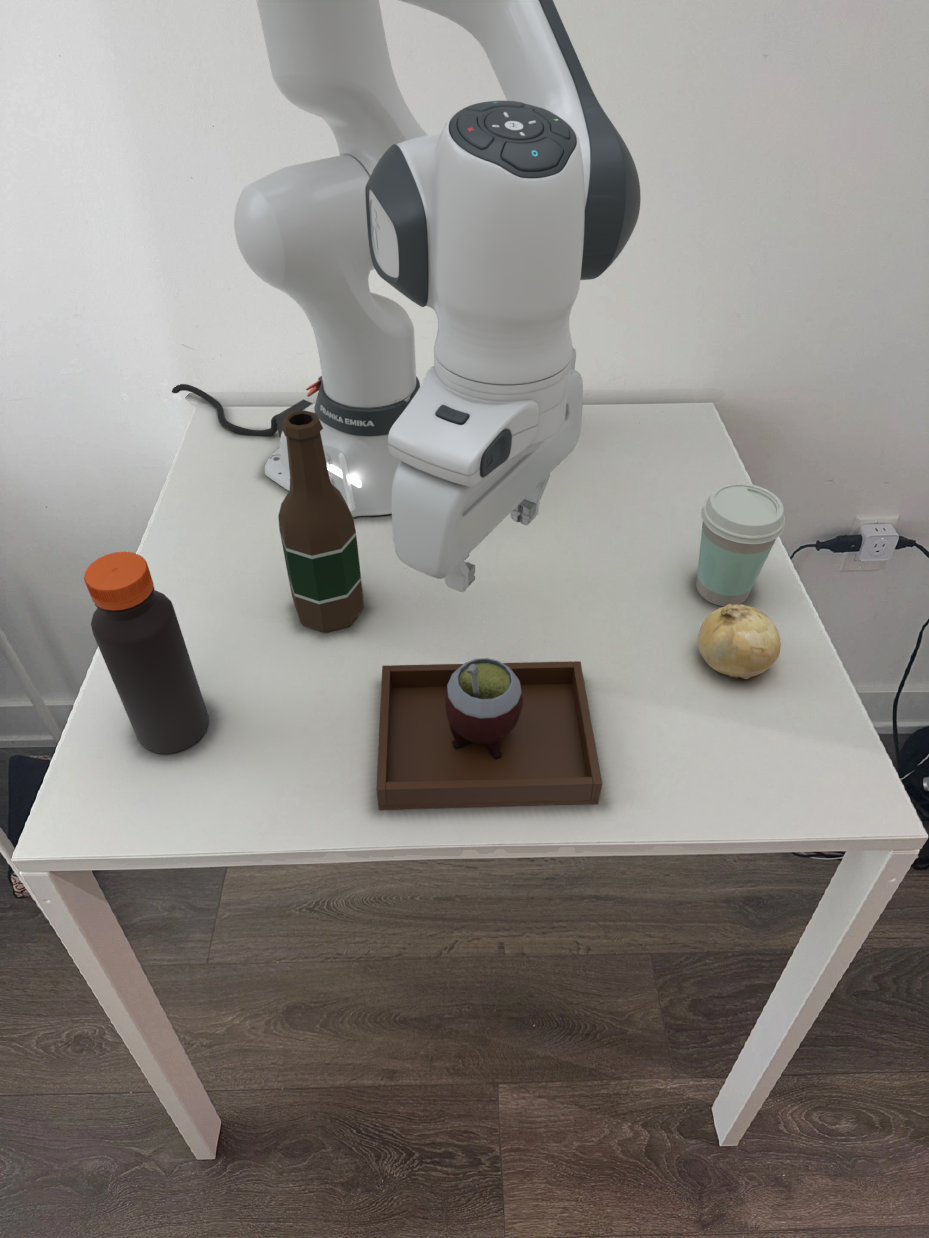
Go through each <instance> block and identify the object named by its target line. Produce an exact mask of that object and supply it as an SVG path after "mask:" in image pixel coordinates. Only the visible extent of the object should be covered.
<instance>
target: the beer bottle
mask: <svg viewBox="0 0 929 1238" xmlns="http://www.w3.org/2000/svg"><path fill="white" fill-rule="evenodd" d="M322 429H323V427H322V425H321V422H320V420H319V418H318V416H317V414H316V413H313V412H309V411H305V410H303V411H298V412H293V413H290V414H289V415H288V416H286V417H285V418H284V419H283V422H282V430H283V432H284V435H285V436H286V439H287V449H288V460H289V470H290V491H288V492H287V494H286V496H285V497H284V499H283V500H282V502H281V504H280V506H279V507H280V508H279V512H278V516H277V518H278V528H279V535H280V540H281V541H280V542H281V546H282V551H283V556H284V562H285V567H286V573H287V578H288V583H289V588H290V593H291V597H292V601H293V605H294V608H295V611H296V614H297V617H298V621H299V623H300V624H301V626H303V627H306V628H309V629H312V630H315V631H318V632H320V633H323V634H325V633H330V632H334V631H338V630H341V629H345V628H349V627H350V626H351V625H352V624H353V623H354V621H355V620H356V619H357V618H358V617H359V615H360V614H361V613H362V612H363V610H364V592H363V582H362V573H361V564H360V555H359V545H358V537H357V530H356V524H355V521H354V517H353V516H352V514H351V512H350V510H349V508H348V506H347V503H346V501H345V500H344V498H343V496H342V494H341V492H340V491H339V490H338V489H337V488H336V487H335V486H333V485H332V484H331V481H330V478H329V473H328V468H327V464H326V459H325V454H324V449H323V444H322V439H321V434H320V431H321V430H322Z"/></svg>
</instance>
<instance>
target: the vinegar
mask: <svg viewBox="0 0 929 1238" xmlns="http://www.w3.org/2000/svg"><path fill="white" fill-rule="evenodd" d="M150 571H151V570H150V568H149V565H148V562H147V560H146V559H145V557H143V556H142V555H140V554H138V553H136V552H132V551H116V552H112V553H108V554H104V555H103V556H101V557H99V558H97V559H95V560H94V561H93V562H91V564H89V565H88V567H87V568H86V569H85V571H84V574H83V580H84V583H85V586H86V588H87V590H88V593H89V596H90V598H91V601H92V602H93V603H94V606H95V607H96V609H95V610H94V612H93V614H92V617H91V621H90V627H91V630H92V631H91V632H92V635H93V638H94V640H95V642H96V645H97V647H98V650H99V651H100V654H101V656H102V658H103V661H104V663H105V666H106V667H107V671H108V672H109V675H110V677H111V680H112V682H113V684H114V687H115V689H116V692H117V694H118V697H119V699H120V701H121V703H122V706H123V709H124V710H125V713H126V715H127V717H128V720H129V723H130V724H131V727H132V729H133V732H134V734H135V736H136V739H137V741H138V742H139V743H140V744H141V745H142V747H143V748H144V749H146V750H148V751H149V752H151V753H157V754H162V755H166V754H173V753H174V754H175V753H178V752H181V751H185V750H187V749H188V748H190V747H192V746H194V745H195V744H196V743H197V742H198V741H199V740H200V739H201V738H202V737H203V736H204V734H205V733H206V732H207V731H206V730H207V728H208V727H209V717H210V716H209V713H208V710H207V707H206V703H205V701H204V697H203V694H202V691H201V689H200V685H199V682H198V678H197V676H196V672H195V670H194V667H193V663H192V660H191V657H190V654H189V651H188V648H187V644H186V641H185V638H184V635H183V633H182V629H181V626H180V622H179V620H178V617H177V614H176V610H175V608H174V604H173V602H172V600H171V599H170V598H169V597H167V595H165V593H163V592H160V591H158V590H155V586H154V585H155V584H154V580H153V577H152V574H151V572H150Z"/></svg>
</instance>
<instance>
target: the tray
mask: <svg viewBox="0 0 929 1238" xmlns="http://www.w3.org/2000/svg"><path fill="white" fill-rule="evenodd" d="M502 663H503V664H505V665H506V666H508V667H509V668H510V669H511V670H512V671H513V672H514V674H515V675H516V677H517V678H518V679H519V681H520V686H521V691H522V697H523V707H522V710H521V713H520V716H519V719H518V722H517V723H516V725H515V727H514V728H513V729H512V730H511V731H510V732H509V734H508V735H507V736H506V737H505V738H503V741H502V744H501V747H500V749H499V750H500V752H501V754H502V757H501V758H499V759H497V760H494V758H493V757H492V756H491V754H490V753H489V751H488V750H487V748H486V747H485V745H484V744H478V743H475V742H474V743H472V744H469V745H467V746H464V747H462V748H459V749H455V748H454V747H453V744H452V741H454V740H455V739H454V737H453V735H452V733H451V731H450V726H449V721H448V718H447V714H446V705H445V692H446V689H447V685H448V682H449V680H450V678H451V676H452V674H453V673H454V672H455V671H456V670H457V669H458V668H459V667H461V666H462V665H463V664H464V663H441V664H439V663H438V664H437V663H436V664H435V663H434V664H433V663H431V664H393V665H389V664H388V665H381V666H382V667H381V684H380V685H381V687H380V706H379V707H380V708H379V725H378V726H379V729H378V748H377V768H376V769H377V770H376V787H375V789H376V790H375V791H376V798H377V806H378V807H377V808H378V810H379V811H380V810H381V811H385V810H386V811H387V810H415V809H416V810H422V809H457V808H458V809H459V808H460V809H461V808H494V807H495V808H497V807H498V808H501V807H534V806H535V807H537V806H538V807H539V806H569V805H570V806H572V805H573V806H574V805H576V806H577V805H599V803H600V797H601V792H602V786H603V781H602V775H601V774H602V773H601V769H600V763H599V758H598V757H599V756H598V752H597V747H596V746H597V745H596V741H595V735H594V729H593V725H592V719H591V718H592V717H591V712H590V707H589V701H588V696H587V689H586V684H585V679H584V678H585V677H584V673H583V667H582V661H581V660H580V661H579V660H577V661H576V660H575V661H570V660H569V661H533V662H532V661H529V662H528V661H526V662H502Z"/></svg>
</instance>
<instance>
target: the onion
mask: <svg viewBox="0 0 929 1238" xmlns="http://www.w3.org/2000/svg"><path fill="white" fill-rule="evenodd" d="M699 628H700V629H699V632H698V634H697V635H698V636H697V647H698V650H699V653H700V655H701V657H702V658H703V660H704V661H705V662H706V664H707V665H708V666H709V667H710V668H711V669H713V670H714V671H715V672H718V673H720V674H722V675H723V676H724V675H726V676H728V677H729V678H733V679H736V680H737V679H738V678H741V679H744V680H749V679H750V678H752V677H755V676H758V675H761V674H762V673H764V672H765V671H767V670H768V669H771V668H772V666H773V665H774V664H775V663H776V662H777V660H778V658H779V656H780V653H781V648H782V647H781V645H782V643H781V636H780V633H779V630H778V628H777V625H775V623H774V622H773V621H772V620H771V618H770V617H769V616H768V615H767V614H765V613H764V612H761V610H759V609H757V608H755V607H752V606H749V605H745V604H743V603H741V604H739V605H738V604H736V605H732V604H728V605H726V606H721V607H718V608H716V609H715V610H713V611H712V612H710V614H708V616H707V617H706V618H705V619H704V621H703V623H702V625H701V626H700V627H699Z"/></svg>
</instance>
